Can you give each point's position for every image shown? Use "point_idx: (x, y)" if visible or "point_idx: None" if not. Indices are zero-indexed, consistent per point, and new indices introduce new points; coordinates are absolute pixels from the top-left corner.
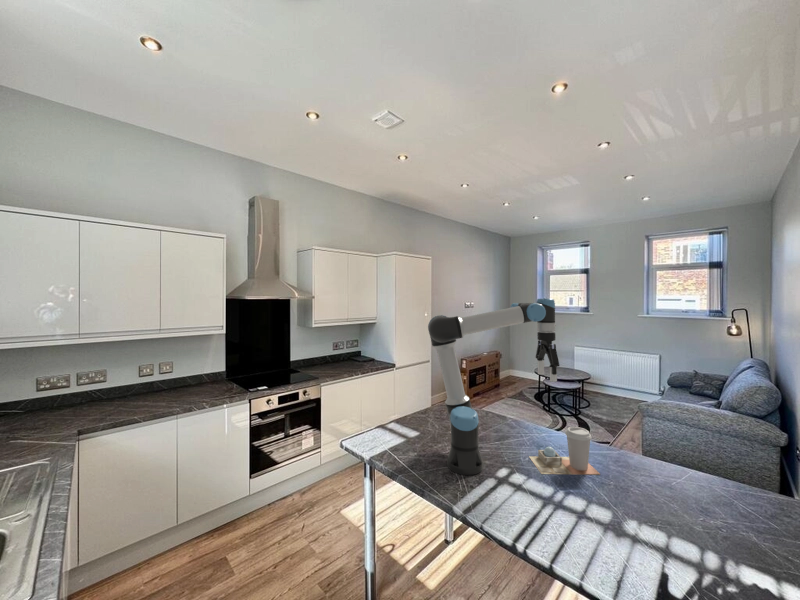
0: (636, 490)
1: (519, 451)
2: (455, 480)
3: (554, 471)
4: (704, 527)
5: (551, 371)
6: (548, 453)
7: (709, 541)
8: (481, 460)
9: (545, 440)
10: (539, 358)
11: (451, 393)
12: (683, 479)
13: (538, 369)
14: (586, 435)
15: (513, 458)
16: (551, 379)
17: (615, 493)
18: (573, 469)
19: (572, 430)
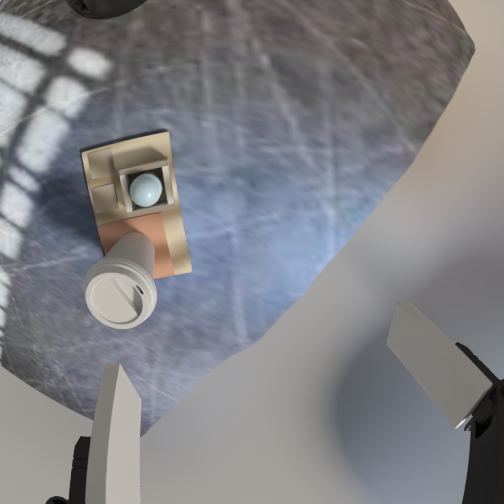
0: (89, 323)
1: (208, 112)
2: None
3: (98, 186)
4: (40, 354)
5: (95, 458)
6: (131, 184)
7: (17, 343)
8: (93, 9)
9: (292, 206)
10: (492, 419)
11: None
12: (158, 392)
13: (425, 332)
14: (93, 313)
15: (161, 89)
16: (105, 386)
17: (64, 286)
18: (116, 234)
19: (139, 287)
